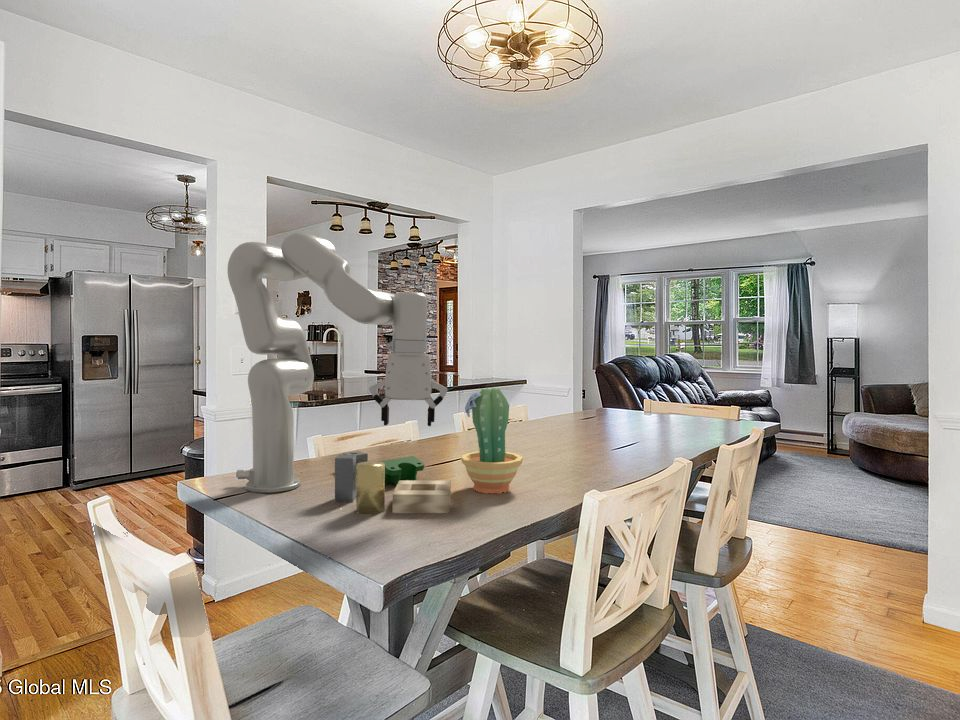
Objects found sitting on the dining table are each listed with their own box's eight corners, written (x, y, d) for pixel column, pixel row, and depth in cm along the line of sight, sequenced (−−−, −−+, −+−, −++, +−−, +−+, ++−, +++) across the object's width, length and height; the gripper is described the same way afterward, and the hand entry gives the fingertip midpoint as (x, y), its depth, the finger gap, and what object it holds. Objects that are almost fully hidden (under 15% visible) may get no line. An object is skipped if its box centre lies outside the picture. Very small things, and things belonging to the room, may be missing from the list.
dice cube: (342, 470, 161) (342, 452, 161) (358, 468, 164) (358, 450, 164) (351, 474, 157) (351, 455, 157) (367, 471, 160) (367, 453, 160)
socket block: (392, 513, 122) (392, 494, 122) (399, 497, 134) (399, 480, 134) (449, 513, 123) (449, 494, 122) (450, 497, 135) (450, 480, 134)
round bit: (353, 514, 121) (353, 467, 121) (359, 506, 127) (359, 461, 127) (382, 514, 121) (382, 467, 121) (386, 506, 127) (386, 461, 127)
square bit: (334, 502, 130) (334, 458, 130) (338, 497, 134) (338, 454, 134) (352, 502, 130) (352, 458, 130) (356, 497, 134) (356, 454, 134)
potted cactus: (480, 478, 153) (481, 384, 152) (533, 486, 146) (534, 387, 145) (448, 491, 140) (449, 389, 139) (504, 501, 132) (506, 392, 131)
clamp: (392, 502, 145) (384, 474, 141) (379, 492, 149) (371, 464, 145) (429, 478, 152) (423, 451, 147) (416, 469, 156) (410, 442, 152)
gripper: (367, 347, 124) (366, 426, 124) (448, 349, 124) (446, 428, 125) (372, 347, 131) (371, 421, 132) (448, 348, 132) (447, 423, 133)
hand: (407, 424), depth 129 cm, fingers open, 9 cm apart
